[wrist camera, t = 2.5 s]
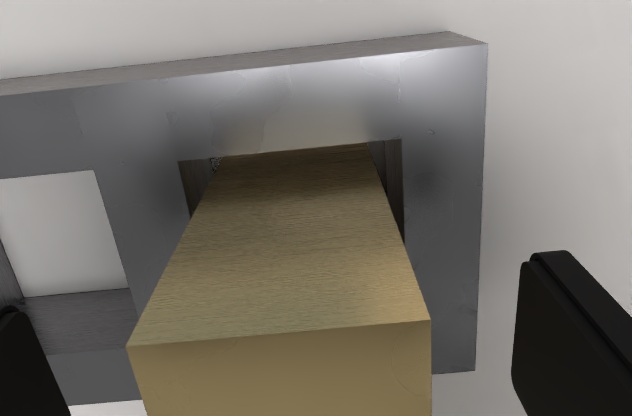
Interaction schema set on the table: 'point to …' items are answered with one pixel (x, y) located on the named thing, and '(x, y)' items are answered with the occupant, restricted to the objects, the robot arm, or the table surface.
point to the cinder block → (248, 138)
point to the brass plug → (287, 297)
